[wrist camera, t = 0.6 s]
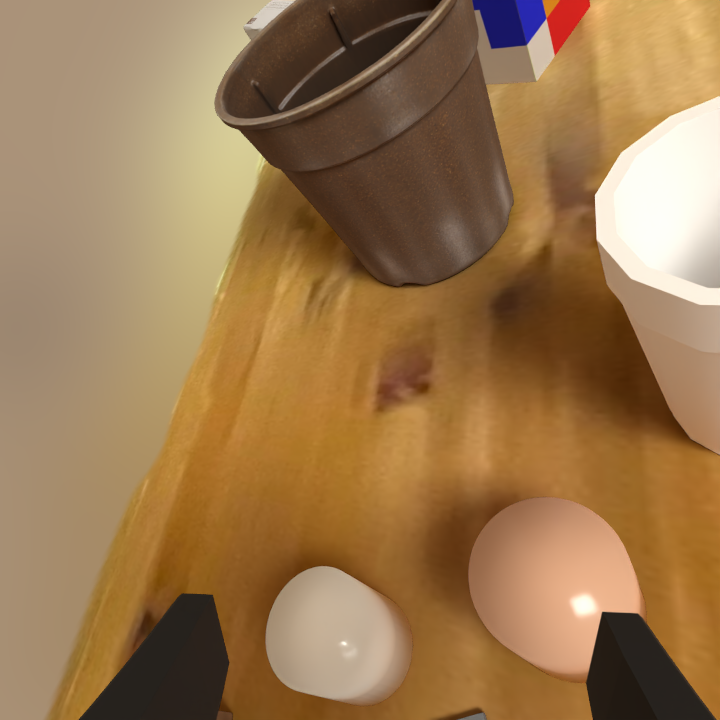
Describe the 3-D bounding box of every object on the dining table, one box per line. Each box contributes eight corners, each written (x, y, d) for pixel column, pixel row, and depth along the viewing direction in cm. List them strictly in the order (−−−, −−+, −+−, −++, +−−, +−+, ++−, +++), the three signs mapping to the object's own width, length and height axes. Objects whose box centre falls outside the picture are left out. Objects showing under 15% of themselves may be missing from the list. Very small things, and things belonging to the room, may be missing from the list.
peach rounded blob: (676, 659, 22) (667, 633, 19) (530, 700, 24) (496, 684, 20) (606, 518, 26) (588, 475, 22) (485, 561, 27) (451, 526, 24)
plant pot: (308, 256, 49) (181, 91, 37) (446, 134, 49) (364, -66, 38) (414, 350, 37) (278, 154, 26) (593, 189, 38) (538, -74, 26)
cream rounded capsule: (423, 689, 26) (376, 673, 22) (328, 718, 27) (268, 707, 23) (400, 580, 29) (355, 551, 25) (316, 610, 30) (263, 586, 27)
